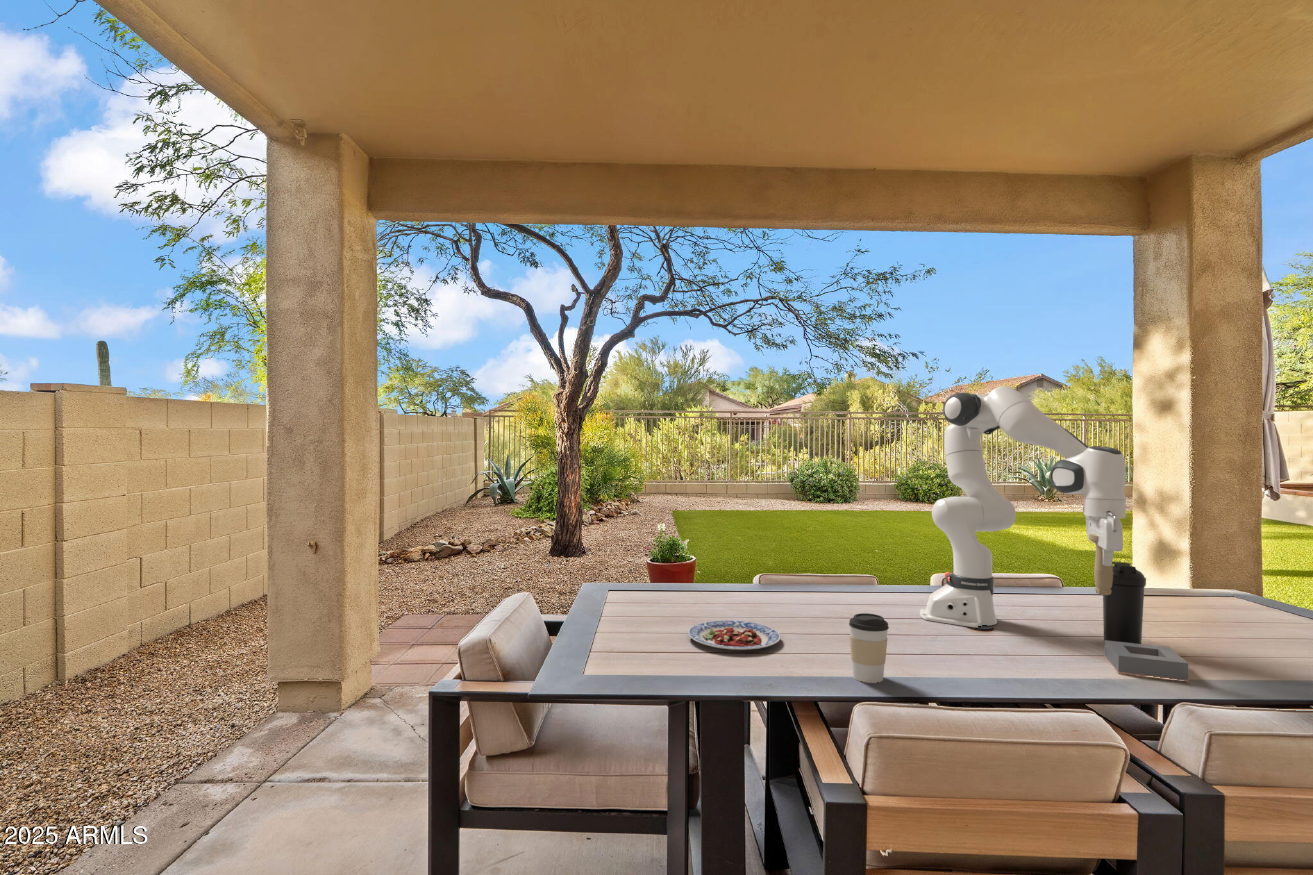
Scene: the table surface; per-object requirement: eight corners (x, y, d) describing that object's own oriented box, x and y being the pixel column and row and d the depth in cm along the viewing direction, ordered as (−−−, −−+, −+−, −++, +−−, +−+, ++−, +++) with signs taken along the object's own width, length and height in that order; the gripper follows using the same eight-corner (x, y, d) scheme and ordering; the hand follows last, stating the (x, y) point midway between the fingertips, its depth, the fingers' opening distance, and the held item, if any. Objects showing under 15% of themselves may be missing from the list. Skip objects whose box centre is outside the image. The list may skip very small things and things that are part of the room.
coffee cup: (842, 671, 162) (843, 610, 161) (878, 670, 162) (879, 609, 162) (857, 685, 152) (857, 620, 152) (894, 684, 153) (895, 620, 153)
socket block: (1118, 673, 162) (1118, 655, 162) (1104, 657, 174) (1104, 640, 174) (1188, 682, 157) (1188, 663, 157) (1168, 664, 169) (1169, 647, 169)
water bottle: (1137, 643, 186) (1138, 562, 186) (1150, 654, 177) (1152, 569, 176) (1095, 639, 189) (1096, 559, 189) (1106, 649, 180) (1108, 566, 180)
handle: (1122, 596, 166) (1122, 537, 166) (1096, 596, 166) (1096, 536, 166) (1110, 592, 171) (1110, 534, 171) (1084, 591, 171) (1085, 533, 171)
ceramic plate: (790, 634, 191) (790, 624, 191) (766, 662, 168) (766, 651, 168) (707, 623, 202) (707, 613, 202) (673, 647, 179) (673, 636, 179)
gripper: (1131, 514, 157) (1130, 572, 157) (1109, 506, 176) (1108, 558, 176) (1099, 513, 160) (1099, 570, 160) (1081, 505, 179) (1081, 556, 179)
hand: (1104, 563), depth 168 cm, fingers closed on handle, 3 cm apart
